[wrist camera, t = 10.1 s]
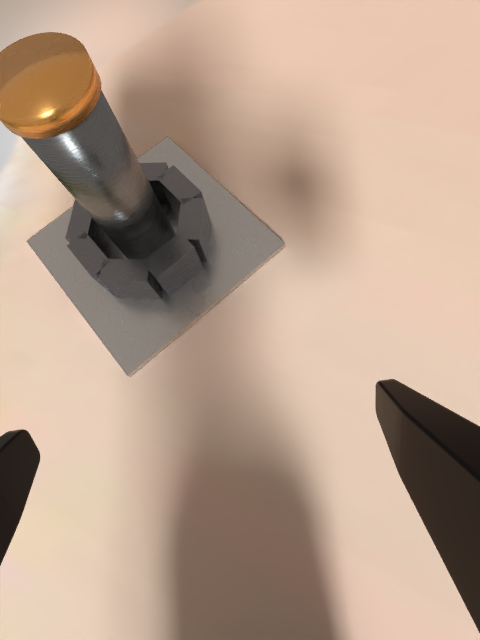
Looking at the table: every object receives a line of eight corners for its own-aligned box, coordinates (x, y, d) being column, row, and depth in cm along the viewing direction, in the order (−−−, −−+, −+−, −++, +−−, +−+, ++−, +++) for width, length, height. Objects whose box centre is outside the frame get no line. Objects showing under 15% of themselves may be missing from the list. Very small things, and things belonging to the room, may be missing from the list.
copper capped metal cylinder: (143, 281, 25) (14, 137, 13) (109, 242, 26) (-38, 77, 14) (191, 242, 26) (110, 68, 13) (155, 206, 27) (52, 16, 15)
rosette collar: (130, 377, 24) (106, 367, 20) (30, 244, 28) (-3, 218, 24) (284, 246, 25) (285, 218, 22) (169, 141, 30) (155, 104, 26)
